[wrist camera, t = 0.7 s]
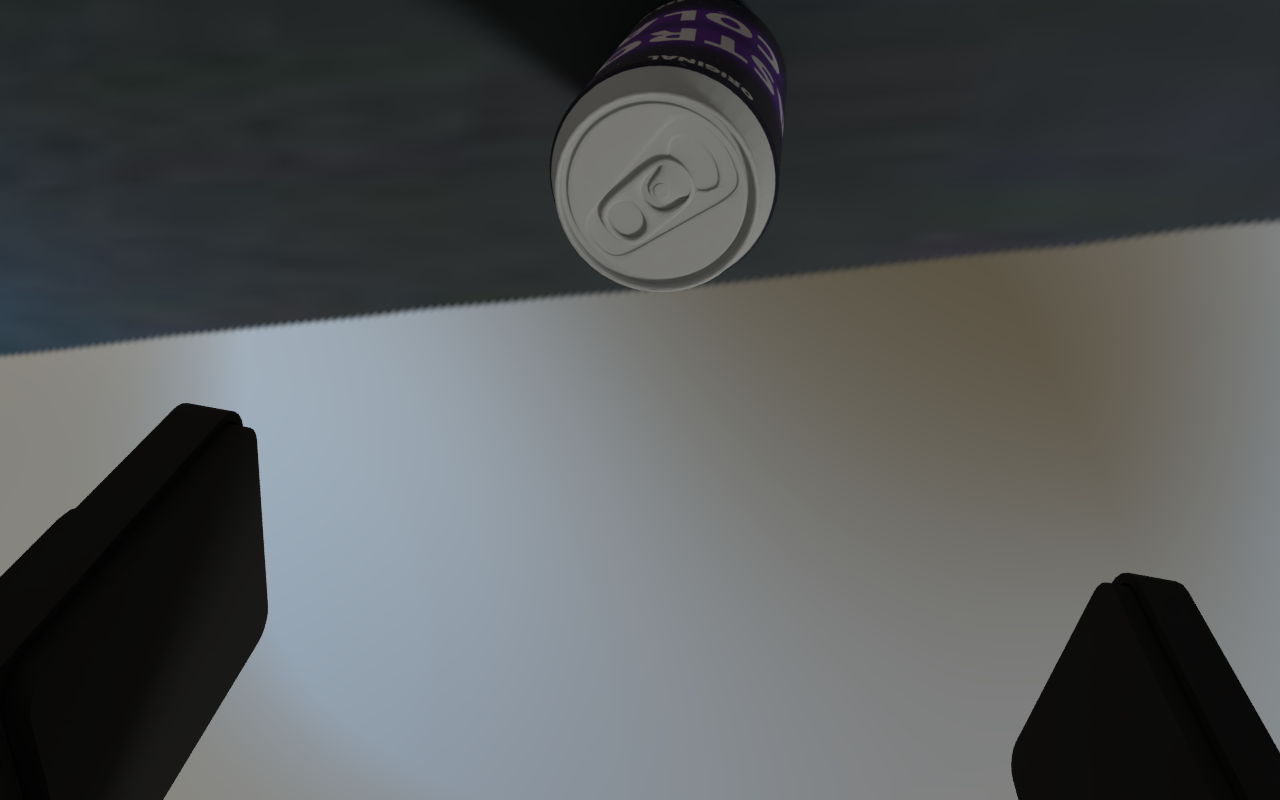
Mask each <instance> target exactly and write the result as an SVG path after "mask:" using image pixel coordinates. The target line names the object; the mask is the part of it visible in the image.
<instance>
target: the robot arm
mask: <svg viewBox="0 0 1280 800" xmlns="http://www.w3.org/2000/svg"><path fill="white" fill-rule="evenodd" d="M261 510H262V509H261V495H260V480H259V464H258V449H257V438H256V434H255V432H254V430H253V429H251V428H248V427H243V424H242V420H241V418H240V416H239V414H237V413H236V412H233V411H228V410H222V409H217V408H212V407H206V406H201V405H195V404H189V403H183V404H180V405H178V406H177V407H176V408H174V409H173V410H172V411H171V412H170V413H169V415H168V416H166V417H165V418H164V419H163V420H162V422H161V423H160V424H159V425H158V426H157V427H156V428H155V429H154V430H153V431H152V432H151V433H150V434H149V435H148V436H147V437H146V438H145V439H144V440H143V441H142V442H141V443H140V444H139V445H138V446H137V447H136V448H135V449H134V450H133V451H132V452H131V453H130V454H129V455H128V456H127V457H126V458H125V459H124V460H123V461H122V462H121V463H120V464H119V465H118V466H117V467H116V468H115V469H114V470H113V471H112V472H111V473H110V474H109V475H108V476H107V477H106V478H105V479H104V480H103V481H102V482H101V483H100V484H99V485H98V486H97V487H96V488H95V489H94V490H93V491H92V492H91V493H90V494H89V496H87V497H86V498H85V499H84V500H83V501H82V502H81V503H80V504H79V505H78V506H77V507H76V508H75V509H71V510H69V511H68V512H67V513H65V514H64V515H63V516H62V517H60V518H59V519H58V520H57V521H56V522H55V523H54V524H53V525H52V526H51V527H50V528H49V529H48V530H47V531H46V532H45V533H44V534H43V535H42V536H41V537H40V538H39V539H38V540H37V541H36V542H35V543H34V544H33V545H32V546H31V547H30V548H29V549H28V550H27V551H26V552H25V553H24V554H23V555H22V556H21V557H20V558H19V559H18V560H17V561H16V562H15V563H14V564H13V565H12V566H11V567H10V568H9V569H8V570H7V571H6V572H5V573H4V574H3V575H2V576H1V577H0V800H163V799H164V797H165V796H166V794H167V792H168V791H169V789H170V787H171V786H172V784H173V783H174V781H175V779H176V778H177V776H178V774H179V773H180V771H181V769H182V768H183V766H184V764H185V763H186V761H187V759H188V758H189V756H190V754H191V753H192V751H193V749H194V748H195V746H196V744H197V743H198V741H199V739H200V738H201V736H202V734H203V733H204V731H205V729H206V728H207V726H208V725H209V723H210V721H211V720H212V717H213V716H214V715H215V713H216V711H217V710H218V708H219V706H220V705H221V703H222V701H223V700H224V698H225V696H226V695H227V693H228V691H229V690H230V688H231V687H232V685H233V683H234V681H235V679H236V678H237V677H238V675H239V673H240V672H241V670H242V668H243V667H244V665H245V663H246V662H247V660H248V658H249V657H250V655H251V653H252V652H253V650H254V648H255V647H256V645H257V643H258V642H259V640H260V638H261V636H262V633H263V631H264V628H265V624H266V620H267V614H268V600H267V585H266V570H265V555H264V540H263V526H262V511H261ZM1011 768H1012V777H1013V781H1014V785H1015V789H1016V793H1017V796H1018V799H1019V800H1280V752H1279V750H1278V749H1277V747H1276V745H1275V744H1274V742H1273V740H1272V738H1271V736H1270V735H1269V733H1268V731H1267V729H1266V728H1265V726H1264V724H1263V722H1262V721H1261V719H1260V717H1259V715H1258V713H1257V712H1256V710H1255V708H1254V706H1253V705H1252V703H1251V701H1250V699H1249V698H1248V696H1247V694H1246V692H1245V691H1244V689H1243V687H1242V685H1241V684H1240V682H1239V680H1238V679H1237V676H1236V675H1235V673H1234V671H1233V670H1232V668H1231V666H1230V664H1229V662H1228V661H1227V659H1226V657H1225V656H1224V654H1223V652H1222V650H1221V648H1220V647H1219V645H1218V643H1217V641H1216V640H1215V638H1214V636H1213V634H1212V633H1211V631H1210V629H1209V627H1208V626H1207V624H1206V622H1205V620H1204V619H1203V617H1202V615H1201V613H1200V611H1199V610H1198V608H1197V606H1196V604H1195V603H1194V601H1193V599H1192V597H1191V596H1190V594H1189V592H1188V591H1187V590H1186V588H1185V587H1184V586H1183V585H1182V584H1180V583H1178V582H1176V581H1171V580H1165V579H1160V578H1154V577H1149V576H1143V575H1138V574H1132V573H1122V574H1120V575H1119V576H1118V577H1116V578H1115V579H1114V581H1113V582H1112V583H1101V584H1100V585H1099V586H1098V587H1097V588H1096V590H1095V591H1094V593H1093V595H1092V597H1091V599H1090V600H1089V602H1088V604H1087V606H1086V608H1085V610H1084V612H1083V614H1082V616H1081V618H1080V620H1079V622H1078V624H1077V625H1076V627H1075V630H1074V631H1073V633H1072V635H1071V637H1070V639H1069V641H1068V643H1067V645H1066V647H1065V649H1064V651H1063V652H1062V655H1061V656H1060V658H1059V660H1058V662H1057V664H1056V666H1055V668H1054V670H1053V672H1052V674H1051V676H1050V678H1049V679H1048V681H1047V683H1046V685H1045V687H1044V689H1043V691H1042V693H1041V695H1040V697H1039V699H1038V701H1037V703H1036V705H1035V707H1034V708H1033V710H1032V712H1031V714H1030V716H1029V718H1028V720H1027V722H1026V724H1025V726H1024V728H1023V730H1022V731H1021V733H1020V735H1019V737H1018V739H1017V741H1016V743H1015V746H1014V749H1013V754H1012V762H1011Z"/></svg>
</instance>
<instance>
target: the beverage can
mask: <svg viewBox="0 0 1280 800" xmlns="http://www.w3.org/2000/svg"><path fill="white" fill-rule="evenodd" d="M786 82H787V80H786V70H785V64H784V60H783V56H782V53H781V51H780V48H779V46H778V44H777V42H776V40H775V38H774V36H773V35H772V33H771V32H770V30H769V29H768V28H767V26H766V25H765V24H764V23H763V22H762V21H761V20H760V19H759V18H758V17H757V16H756V15H755V14H753V13H752V12H751V11H749V10H748V9H747V8H745V7H743V6H742V5H740V4H738V3H736V2H733V1H731V0H671V1H668V2H666V3H664V4H662V5H660V6H658V7H657V8H655V9H653V10H652V11H651V12H649V13H648V14H647V15H646V16H645V17H643V18H642V19H641V20H640V21H639V22H638V24H637V25H636V26H635V27H634V28H633V30H632V31H631V32H630V33H629V34H628V36H627V37H626V38H625V39H624V41H623V42H622V43H621V44H620V45H619V47H618V48H617V49H616V50H615V51H614V53H613V54H612V55H611V56H610V58H609V59H608V60H607V61H606V62H605V64H604V65H603V66H602V67H601V69H600V70H599V71H598V72H597V73H596V75H595V76H594V77H593V78H592V79H591V81H590V82H589V83H588V84H587V86H586V87H585V88H584V89H583V90H582V92H581V93H580V94H579V95H578V97H577V98H576V99H575V100H574V101H573V103H572V104H571V105H570V107H569V108H568V110H567V111H566V113H565V115H564V116H563V118H562V120H561V122H560V124H559V126H558V129H557V132H556V134H555V138H554V141H553V145H552V150H551V157H550V182H551V189H552V194H553V198H554V201H555V205H556V208H557V213H558V216H559V219H560V222H561V224H562V227H563V229H564V231H565V233H566V235H567V237H568V239H569V241H570V242H571V244H572V245H573V246H574V248H575V249H576V250H577V252H578V253H579V255H580V256H581V257H582V258H583V259H584V260H585V261H586V262H587V263H588V264H589V265H590V266H592V267H593V268H594V269H596V270H597V271H598V272H600V273H601V274H602V275H604V276H606V277H608V278H609V279H611V280H613V281H615V282H617V283H620V284H622V285H625V286H628V287H630V288H634V289H639V290H643V291H651V292H672V291H679V290H684V289H688V288H692V287H695V286H697V285H700V284H702V283H705V282H707V281H709V280H711V279H712V278H714V277H716V276H717V275H719V274H720V273H722V272H724V271H726V270H727V269H729V268H731V267H732V266H733V265H735V264H736V263H737V262H739V261H740V260H741V259H742V258H743V257H745V256H746V255H747V254H748V253H749V252H750V250H751V249H752V248H753V247H754V246H755V245H756V243H757V242H758V241H759V239H760V238H761V236H762V235H763V233H764V232H765V230H766V228H767V226H768V224H769V222H770V219H771V217H772V214H773V211H774V208H775V204H776V201H777V195H778V187H779V175H780V163H781V150H782V137H783V125H784V112H785V99H786Z"/></svg>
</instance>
